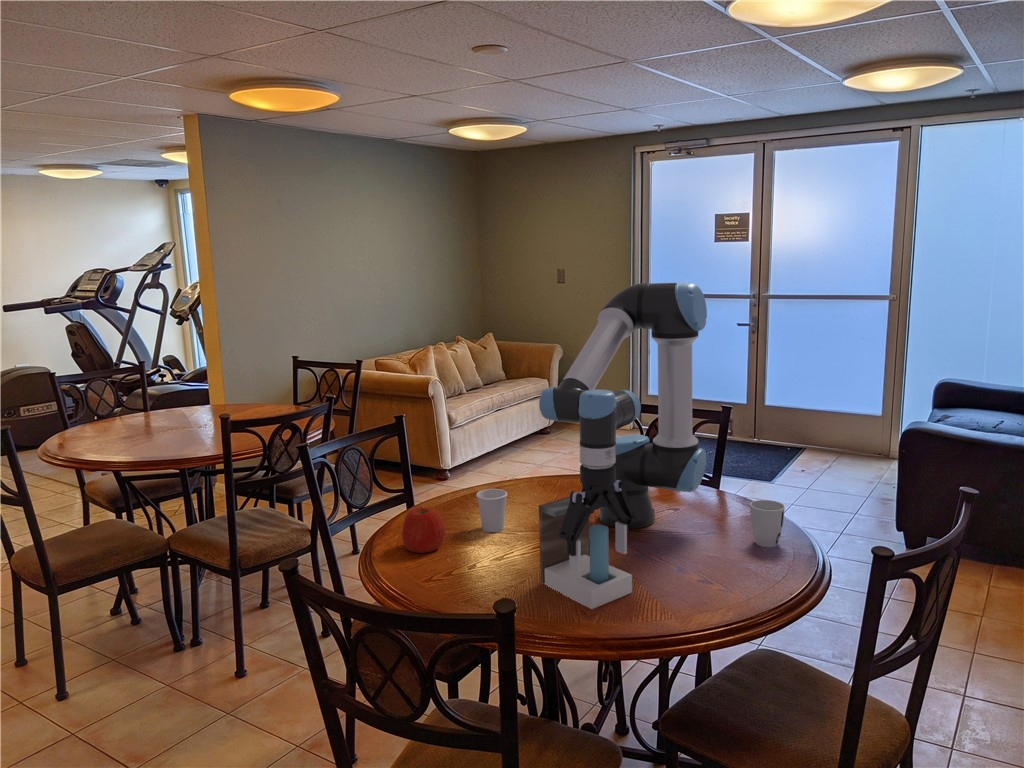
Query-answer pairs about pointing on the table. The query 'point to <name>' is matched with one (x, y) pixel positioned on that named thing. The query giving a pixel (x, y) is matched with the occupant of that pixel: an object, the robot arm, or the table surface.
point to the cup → (767, 522)
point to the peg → (599, 554)
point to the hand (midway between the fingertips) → (598, 560)
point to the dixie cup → (492, 509)
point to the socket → (587, 583)
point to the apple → (423, 530)
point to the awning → (556, 535)
